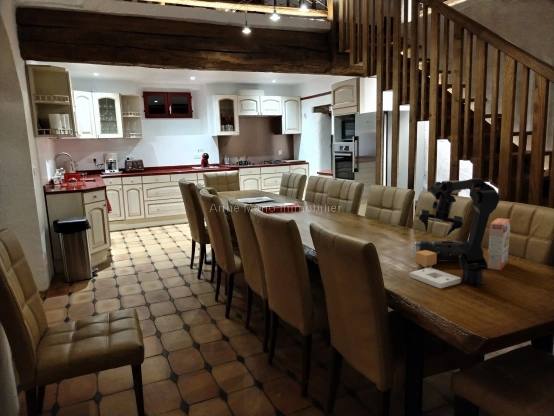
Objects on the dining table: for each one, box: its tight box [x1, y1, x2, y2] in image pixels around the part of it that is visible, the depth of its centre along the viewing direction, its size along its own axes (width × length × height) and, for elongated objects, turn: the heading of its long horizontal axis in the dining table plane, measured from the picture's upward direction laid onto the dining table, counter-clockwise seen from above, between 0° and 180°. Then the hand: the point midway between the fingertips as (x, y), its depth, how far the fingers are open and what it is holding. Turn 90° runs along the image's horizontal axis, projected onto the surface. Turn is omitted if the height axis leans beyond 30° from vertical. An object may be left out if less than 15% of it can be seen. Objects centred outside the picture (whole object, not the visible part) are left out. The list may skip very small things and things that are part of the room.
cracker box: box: [487, 217, 512, 271], centre depth 174 cm, size 14×6×21 cm, turn 139°
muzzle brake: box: [412, 239, 468, 263], centre depth 184 cm, size 10×28×10 cm, turn 80°
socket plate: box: [409, 266, 462, 289], centre depth 162 cm, size 16×12×2 cm
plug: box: [414, 250, 438, 269], centre depth 177 cm, size 6×6×7 cm
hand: (436, 233), depth 183 cm, fingers open, 9 cm apart
